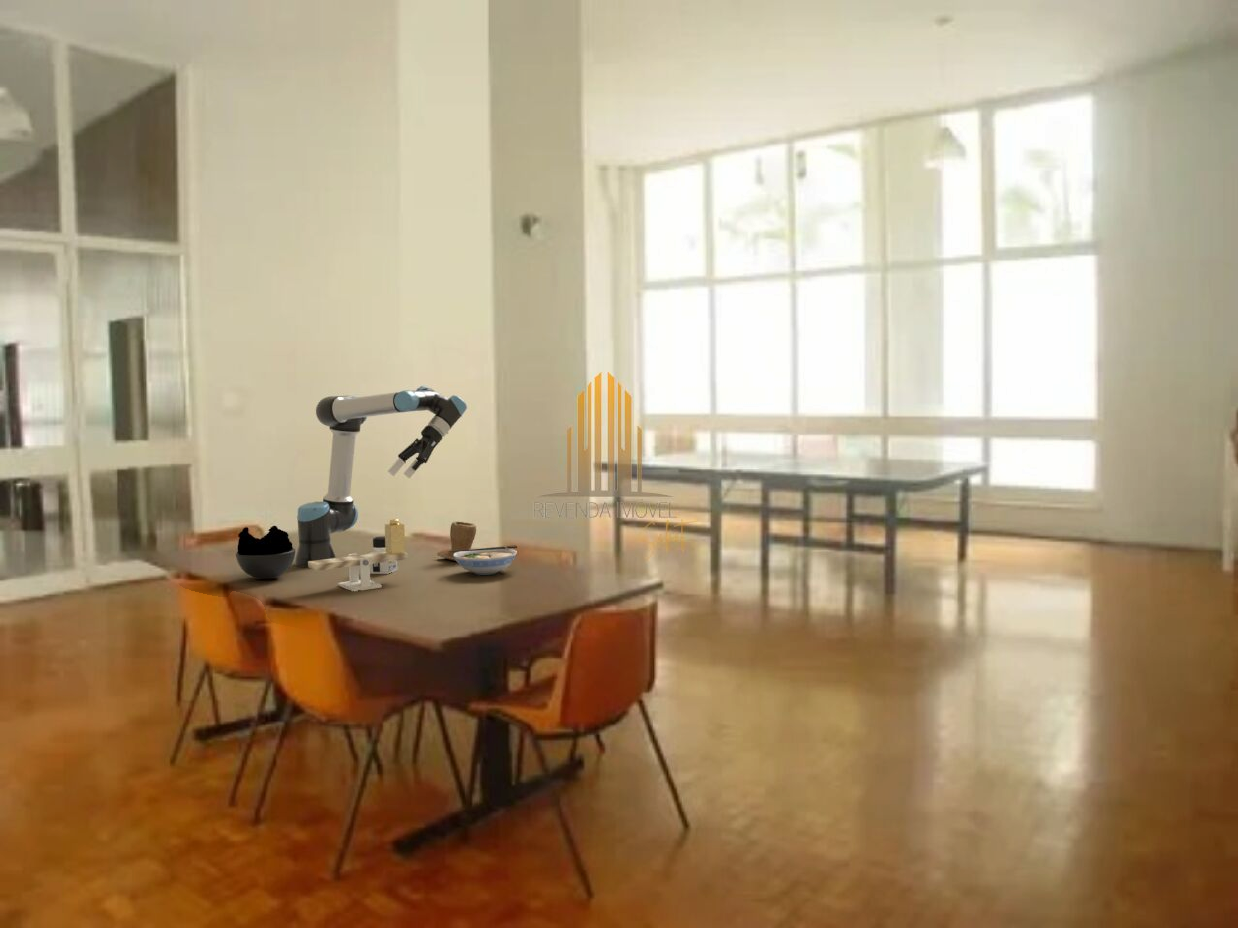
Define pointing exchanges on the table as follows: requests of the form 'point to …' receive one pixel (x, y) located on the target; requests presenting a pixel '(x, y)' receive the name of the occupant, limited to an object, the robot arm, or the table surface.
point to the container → (384, 566)
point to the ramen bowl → (485, 559)
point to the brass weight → (394, 537)
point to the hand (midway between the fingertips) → (398, 474)
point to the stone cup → (459, 538)
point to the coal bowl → (265, 553)
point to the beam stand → (364, 581)
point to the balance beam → (354, 560)
